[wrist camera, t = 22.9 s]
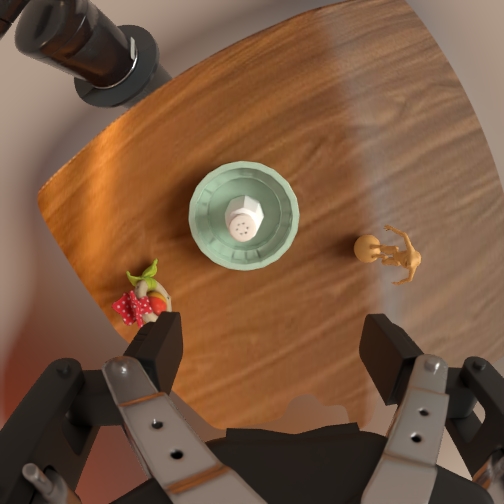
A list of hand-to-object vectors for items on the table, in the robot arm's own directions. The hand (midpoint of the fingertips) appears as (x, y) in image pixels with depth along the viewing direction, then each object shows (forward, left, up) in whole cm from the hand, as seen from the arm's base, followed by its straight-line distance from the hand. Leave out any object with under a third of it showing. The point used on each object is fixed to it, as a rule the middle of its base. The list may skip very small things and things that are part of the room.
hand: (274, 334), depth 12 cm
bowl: (-2, -1, -30) cm, 30 cm away
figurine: (+11, +13, -30) cm, 35 cm away
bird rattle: (+1, -18, -30) cm, 35 cm away
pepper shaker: (-2, -1, -30) cm, 30 cm away
